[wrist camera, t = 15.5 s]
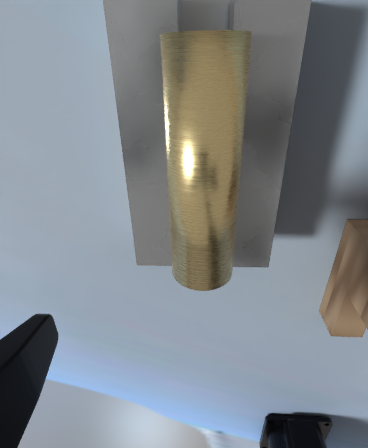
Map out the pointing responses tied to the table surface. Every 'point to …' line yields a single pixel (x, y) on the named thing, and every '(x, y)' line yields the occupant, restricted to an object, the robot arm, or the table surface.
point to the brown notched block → (348, 284)
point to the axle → (204, 149)
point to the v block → (254, 115)
